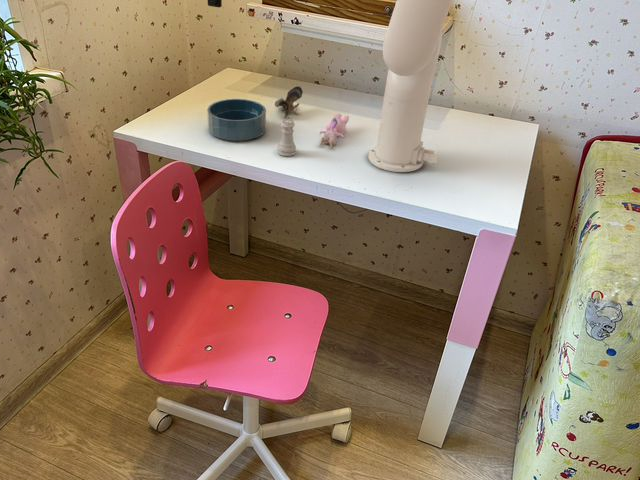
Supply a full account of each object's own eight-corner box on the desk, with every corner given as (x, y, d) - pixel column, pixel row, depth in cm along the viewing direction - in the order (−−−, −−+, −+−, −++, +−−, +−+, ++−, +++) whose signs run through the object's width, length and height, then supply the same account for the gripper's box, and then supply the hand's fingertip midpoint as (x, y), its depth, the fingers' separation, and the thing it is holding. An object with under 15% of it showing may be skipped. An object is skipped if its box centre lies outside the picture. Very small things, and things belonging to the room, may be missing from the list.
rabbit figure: (338, 155, 133) (355, 123, 143) (339, 133, 129) (356, 102, 139) (313, 150, 135) (331, 119, 145) (313, 128, 131) (332, 98, 140)
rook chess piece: (300, 153, 131) (301, 120, 126) (287, 159, 128) (288, 125, 123) (286, 147, 133) (287, 114, 128) (273, 152, 130) (273, 120, 125)
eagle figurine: (307, 115, 146) (308, 97, 152) (293, 94, 142) (295, 76, 148) (282, 127, 149) (285, 109, 155) (267, 107, 145) (271, 89, 151)
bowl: (274, 126, 143) (275, 105, 139) (250, 147, 132) (250, 125, 129) (225, 115, 147) (224, 95, 144) (198, 135, 137) (196, 114, 133)
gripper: (218, -85, 106) (220, 12, 116) (260, -91, 118) (259, -3, 129) (184, -88, 108) (190, 7, 119) (229, -94, 121) (230, -7, 131)
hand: (226, 2), depth 124 cm, fingers open, 9 cm apart
